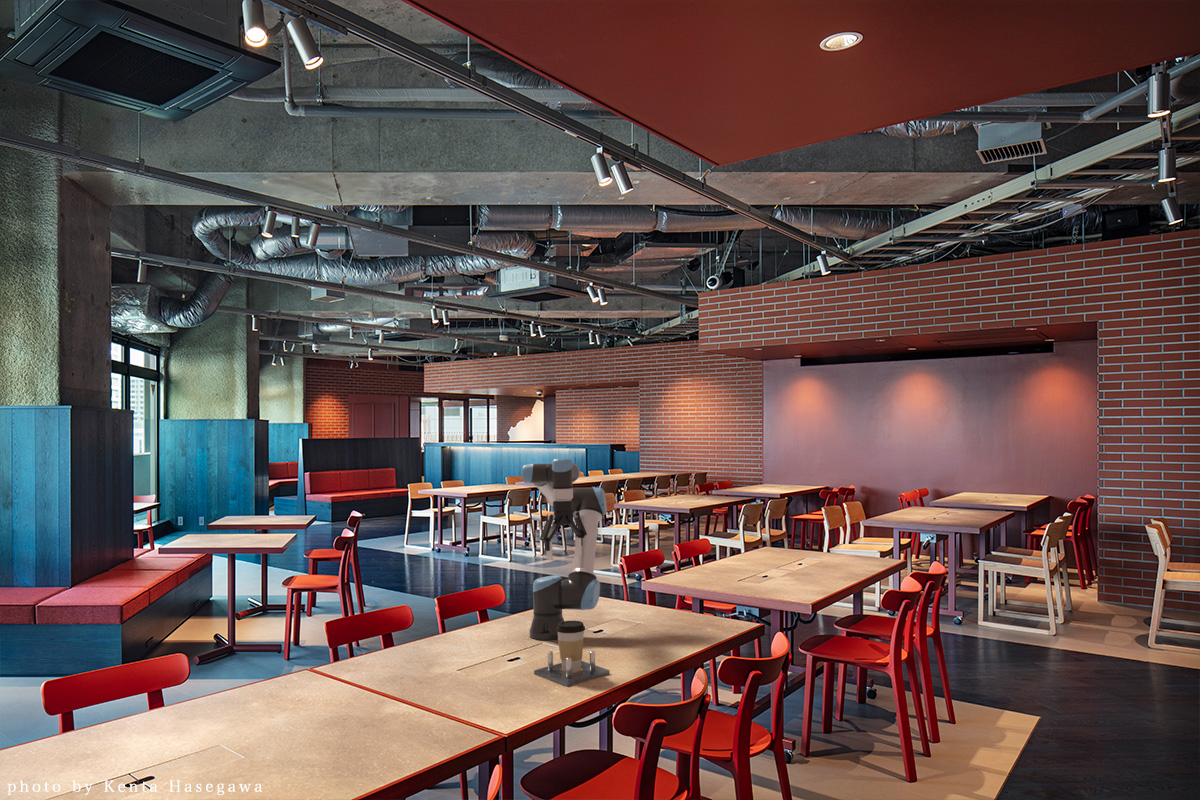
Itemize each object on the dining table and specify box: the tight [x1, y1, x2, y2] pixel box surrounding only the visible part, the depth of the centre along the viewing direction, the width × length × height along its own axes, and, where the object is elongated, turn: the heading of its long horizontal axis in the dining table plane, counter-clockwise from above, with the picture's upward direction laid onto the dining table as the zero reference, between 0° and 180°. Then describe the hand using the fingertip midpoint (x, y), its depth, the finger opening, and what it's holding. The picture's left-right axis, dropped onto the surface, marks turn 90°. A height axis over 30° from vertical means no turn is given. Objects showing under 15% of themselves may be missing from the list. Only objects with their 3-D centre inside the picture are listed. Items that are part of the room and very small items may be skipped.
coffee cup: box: [556, 620, 586, 672], centre depth 243 cm, size 10×10×15 cm
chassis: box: [533, 650, 611, 687], centre depth 243 cm, size 18×18×7 cm
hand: (564, 557), depth 270 cm, fingers open, 13 cm apart
